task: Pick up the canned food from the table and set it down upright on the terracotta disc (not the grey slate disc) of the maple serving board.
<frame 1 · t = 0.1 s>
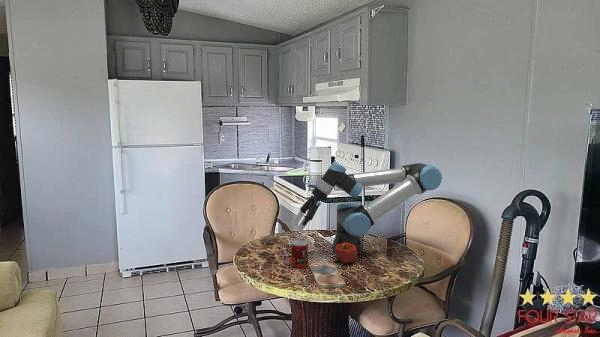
hand: (296, 226, 204), 15 cm above the table, tool tilted 35°, fingers open, 13 cm apart
red apple: (345, 263, 199), on the table
board: (326, 277, 180), on the table
canned food: (299, 266, 195), on the table
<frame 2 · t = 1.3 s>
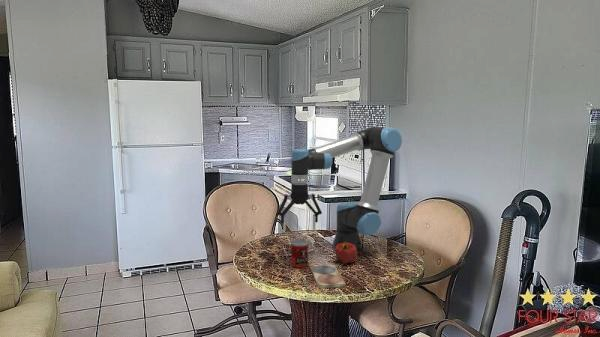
hand: (299, 229, 193), 17 cm above the table, tool pointing down, fingers open, 13 cm apart
nothing on the table moved.
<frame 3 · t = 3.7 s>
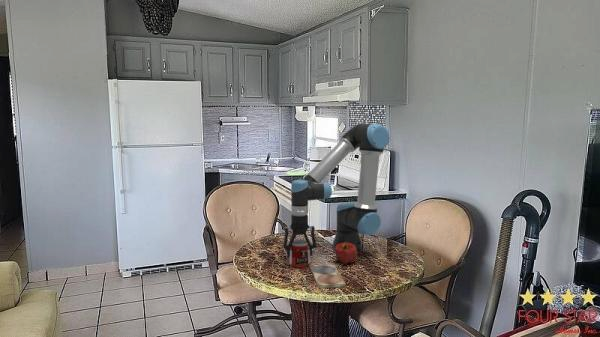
hand: (299, 263, 195), 1 cm above the table, tool pointing down, fingers closed on canned food, 8 cm apart
canned food: (299, 265, 195), on the table, touching gripper
everything else where it was.
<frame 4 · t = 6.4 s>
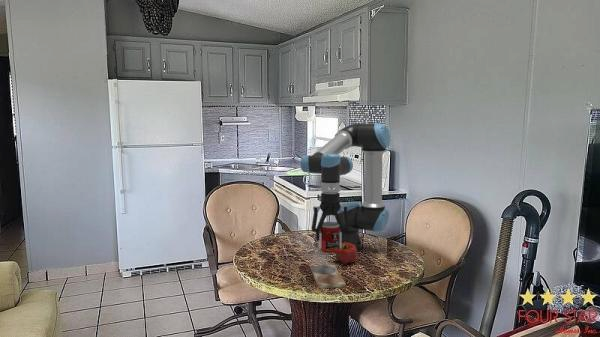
hand: (329, 247, 173), 15 cm above the table, tool pointing down, fingers closed on canned food, 8 cm apart
canned food: (329, 250, 173), point 13 cm above the table, touching gripper
everything else where it was.
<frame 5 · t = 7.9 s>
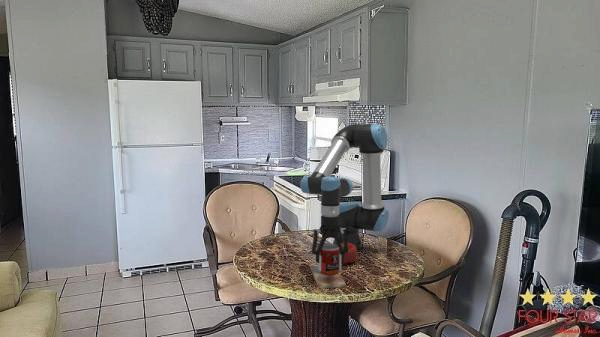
hand: (329, 269, 174), 5 cm above the table, tool pointing down, fingers closed on canned food, 8 cm apart
canned food: (329, 272, 174), point 4 cm above the table, touching gripper
everything else where it was.
when the fingers open (4 cm above the table, at t = 9.1 s): canned food drops 1 cm, resting on board.
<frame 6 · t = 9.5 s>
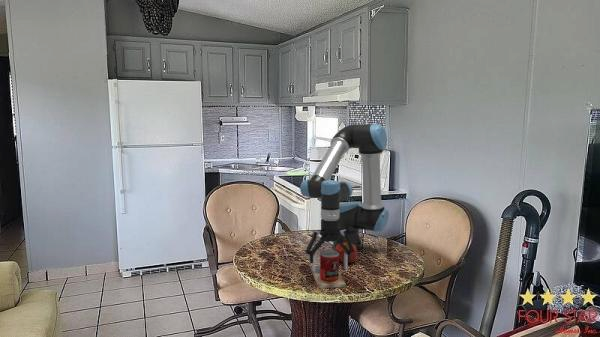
hand: (329, 269, 174), 5 cm above the table, tool pointing down, fingers open, 13 cm apart
canned food: (329, 279, 175), point 1 cm above the table, touching board
everything else where it was.
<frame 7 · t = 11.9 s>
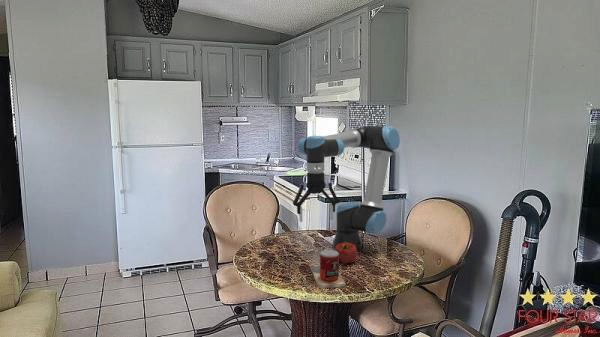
hand: (316, 220, 185), 23 cm above the table, tool pointing down, fingers open, 13 cm apart
nothing on the table moved.
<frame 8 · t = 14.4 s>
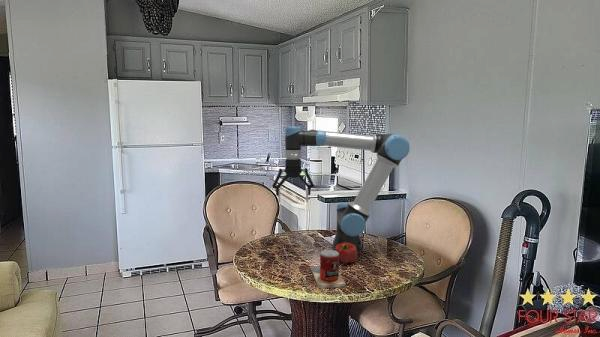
hand: (293, 202, 206), 27 cm above the table, tool pointing down, fingers open, 13 cm apart
nothing on the table moved.
at the end: canned food inside the target area (0.1 cm from its centre), point 1.3 cm above the table; canned food tilted 0°; the gripper is holding nothing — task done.
